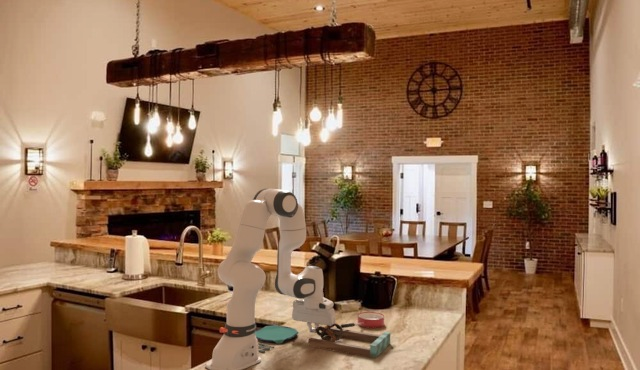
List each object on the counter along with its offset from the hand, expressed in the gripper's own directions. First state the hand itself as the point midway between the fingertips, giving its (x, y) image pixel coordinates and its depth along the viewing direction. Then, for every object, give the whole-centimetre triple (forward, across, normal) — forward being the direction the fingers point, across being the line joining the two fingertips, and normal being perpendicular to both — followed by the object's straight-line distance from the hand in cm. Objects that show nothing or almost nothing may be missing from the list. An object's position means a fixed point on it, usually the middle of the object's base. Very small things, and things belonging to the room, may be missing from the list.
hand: (313, 332), depth 223 cm
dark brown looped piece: (+3, +7, +2) cm, 8 cm away
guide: (+3, +18, 0) cm, 18 cm away
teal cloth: (+3, -17, -10) cm, 20 cm away
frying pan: (+3, +15, +22) cm, 27 cm away
